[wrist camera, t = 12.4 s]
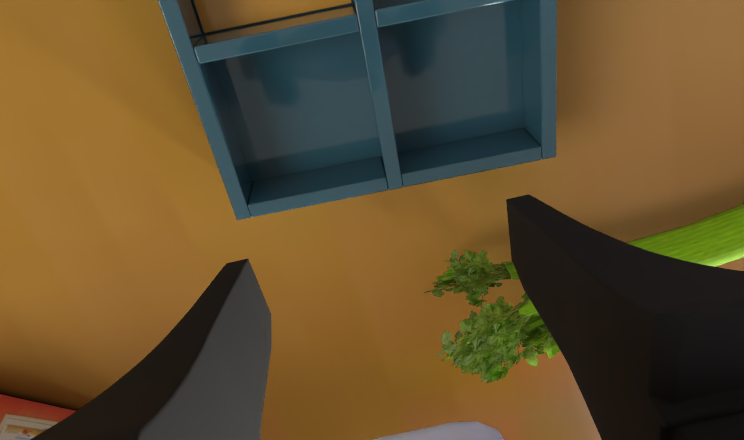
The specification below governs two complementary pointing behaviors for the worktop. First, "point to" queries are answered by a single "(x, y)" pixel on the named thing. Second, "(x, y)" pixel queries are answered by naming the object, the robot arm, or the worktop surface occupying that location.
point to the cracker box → (27, 418)
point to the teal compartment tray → (365, 92)
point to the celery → (492, 334)
